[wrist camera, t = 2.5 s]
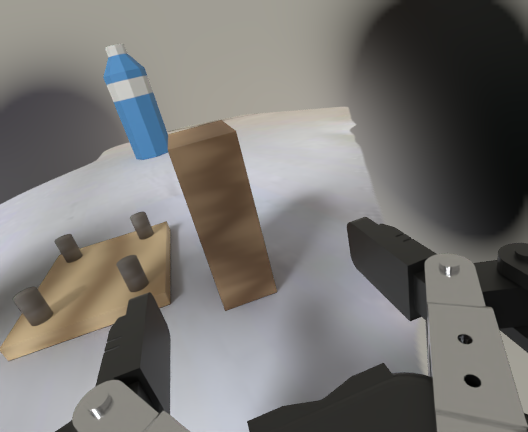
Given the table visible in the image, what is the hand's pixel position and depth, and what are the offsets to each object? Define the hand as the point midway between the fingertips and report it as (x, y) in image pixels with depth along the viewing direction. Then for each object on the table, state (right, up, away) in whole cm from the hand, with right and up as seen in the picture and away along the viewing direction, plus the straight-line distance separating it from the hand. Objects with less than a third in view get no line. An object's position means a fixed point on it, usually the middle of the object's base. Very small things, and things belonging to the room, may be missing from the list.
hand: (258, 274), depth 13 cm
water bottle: (-28, +18, +70) cm, 77 cm away
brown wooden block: (-1, -3, +13) cm, 14 cm away
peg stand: (-15, -4, +18) cm, 23 cm away
